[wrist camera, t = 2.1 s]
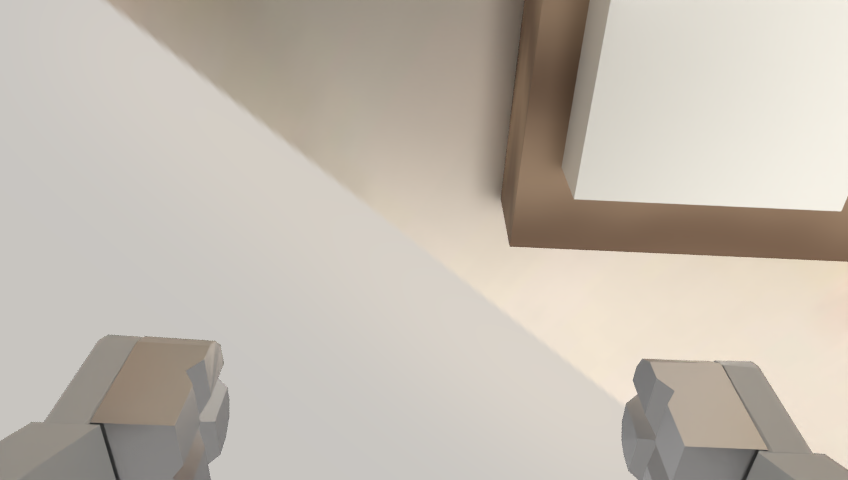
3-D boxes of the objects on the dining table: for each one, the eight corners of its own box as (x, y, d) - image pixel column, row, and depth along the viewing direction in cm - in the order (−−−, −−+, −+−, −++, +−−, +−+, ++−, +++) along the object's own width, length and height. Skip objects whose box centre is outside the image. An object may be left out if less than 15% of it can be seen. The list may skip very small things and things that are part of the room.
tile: (596, -39, 21) (614, -24, 18) (882, -24, 21) (934, -8, 19) (561, 167, 24) (574, 199, 22) (805, 178, 24) (841, 211, 22)
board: (545, -173, 22) (565, -174, 19) (1075, -144, 22) (1191, -140, 19) (500, 198, 29) (509, 246, 26) (901, 217, 30) (962, 266, 26)
